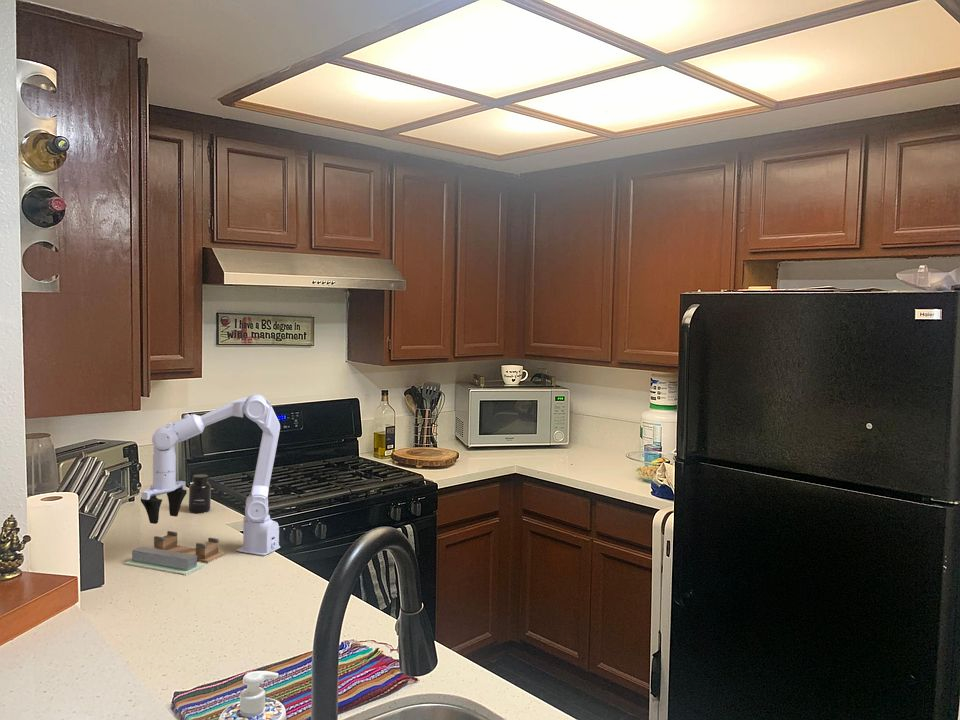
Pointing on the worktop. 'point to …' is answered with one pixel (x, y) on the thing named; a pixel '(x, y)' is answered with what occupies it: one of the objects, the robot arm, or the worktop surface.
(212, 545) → the wooden stand
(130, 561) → the rubber mat
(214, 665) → the worktop surface
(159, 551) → the steel rail
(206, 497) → the supplement bottle
